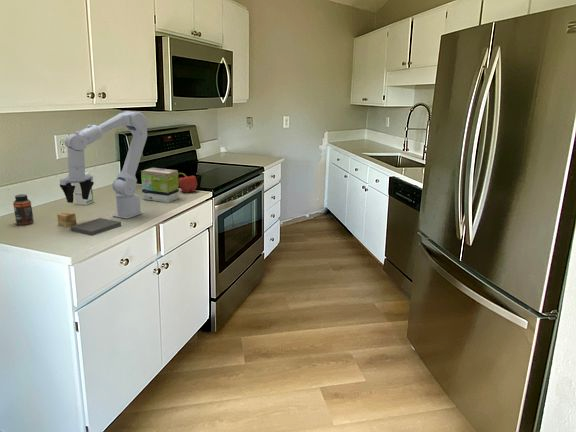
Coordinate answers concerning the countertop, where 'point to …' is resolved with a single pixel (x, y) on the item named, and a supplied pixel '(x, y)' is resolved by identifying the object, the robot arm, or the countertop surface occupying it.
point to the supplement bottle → (23, 210)
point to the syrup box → (79, 194)
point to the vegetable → (187, 183)
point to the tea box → (160, 184)
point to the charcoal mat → (95, 226)
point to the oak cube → (66, 219)
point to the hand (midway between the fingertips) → (77, 200)
